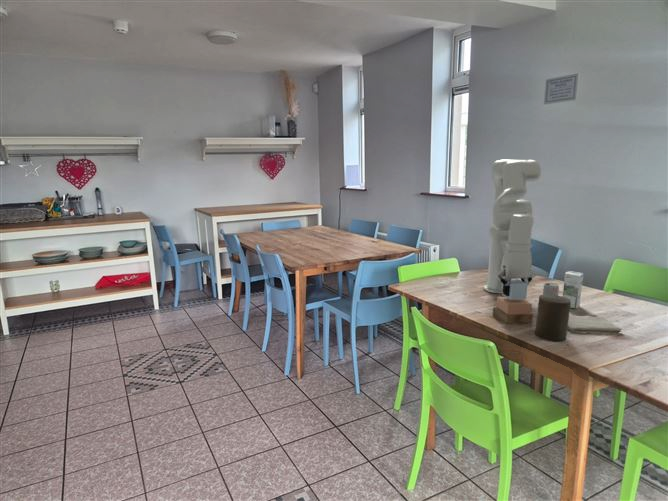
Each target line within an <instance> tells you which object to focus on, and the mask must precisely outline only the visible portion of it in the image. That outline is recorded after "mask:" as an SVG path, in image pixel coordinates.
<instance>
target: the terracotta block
mask: <svg viewBox="0 0 668 501" xmlns="http://www.w3.org/2000/svg"><path fill="white" fill-rule="evenodd" d="M532 304H533V303H531V302H529V301H528V300H527V299H522V300H510V299H508V298H507V297H505V296H496V303H495V307H497V308H499V309H500V310H501V311H503V312H504V313H506V314H507V315H513V314H532V307H533V306H532Z"/></svg>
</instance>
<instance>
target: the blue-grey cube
mask: <svg viewBox="0 0 668 501" xmlns="http://www.w3.org/2000/svg"><path fill="white" fill-rule="evenodd" d="M509 286H510V291H509V296H506V295H504V294H503V293H502V294H501V295H502V297H507V298H508V299H510V300H522V299H524V300H527V292H528V286H529V285H528V284H527V283H525V282H523V281H521V279H519V278H517V279H511V281H510V283H509Z"/></svg>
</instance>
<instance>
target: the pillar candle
mask: <svg viewBox="0 0 668 501" xmlns="http://www.w3.org/2000/svg"><path fill="white" fill-rule="evenodd" d="M562 296H563V295H559V294H558V295H548V294H543V293H542V294H540V295H539V296H538V305H537V312H536V321H535V328H534V335H535V336H536V337H537V338H539V339H541V340H544V341H548V342H553V343H560V342H561V343H562V342H565V341H566V340H567V334H568V329H567V327H568V320H569V316H570V312H571V308H570V304H571V300H570V299H569V298H566V297H562Z"/></svg>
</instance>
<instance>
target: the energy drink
mask: <svg viewBox="0 0 668 501" xmlns="http://www.w3.org/2000/svg"><path fill="white" fill-rule="evenodd" d="M559 289H560V287H559V284H557V283H554V282H545V283H544V285H543V289H542V295H543V294H548V295H558V296H559V292H560V291H559Z"/></svg>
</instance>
